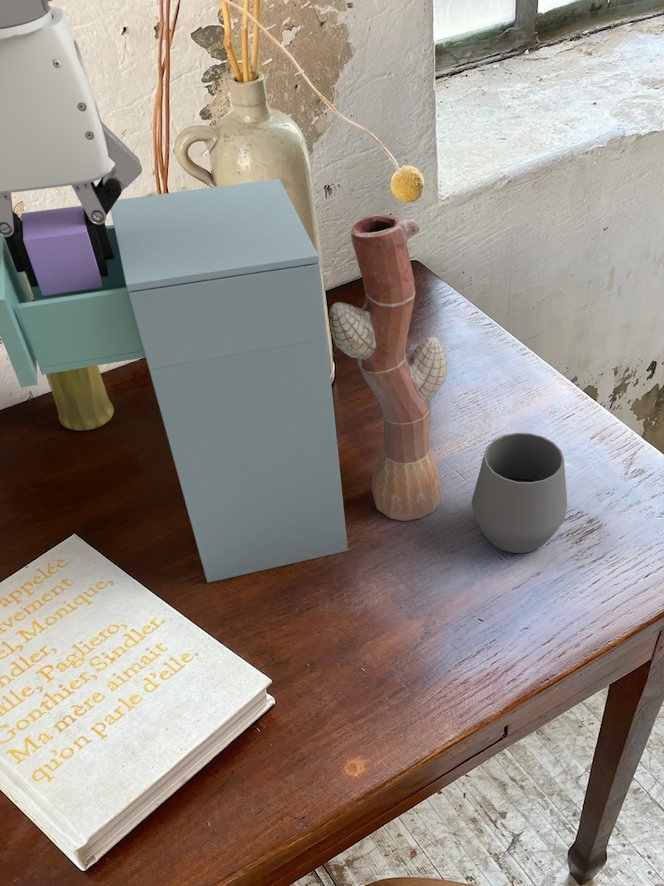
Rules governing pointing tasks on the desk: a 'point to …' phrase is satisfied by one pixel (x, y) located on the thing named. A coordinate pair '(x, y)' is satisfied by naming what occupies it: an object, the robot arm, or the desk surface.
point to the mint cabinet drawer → (66, 322)
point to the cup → (520, 492)
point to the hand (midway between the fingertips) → (68, 271)
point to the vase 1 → (80, 398)
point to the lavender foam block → (60, 250)
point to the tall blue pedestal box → (238, 369)
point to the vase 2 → (394, 366)
